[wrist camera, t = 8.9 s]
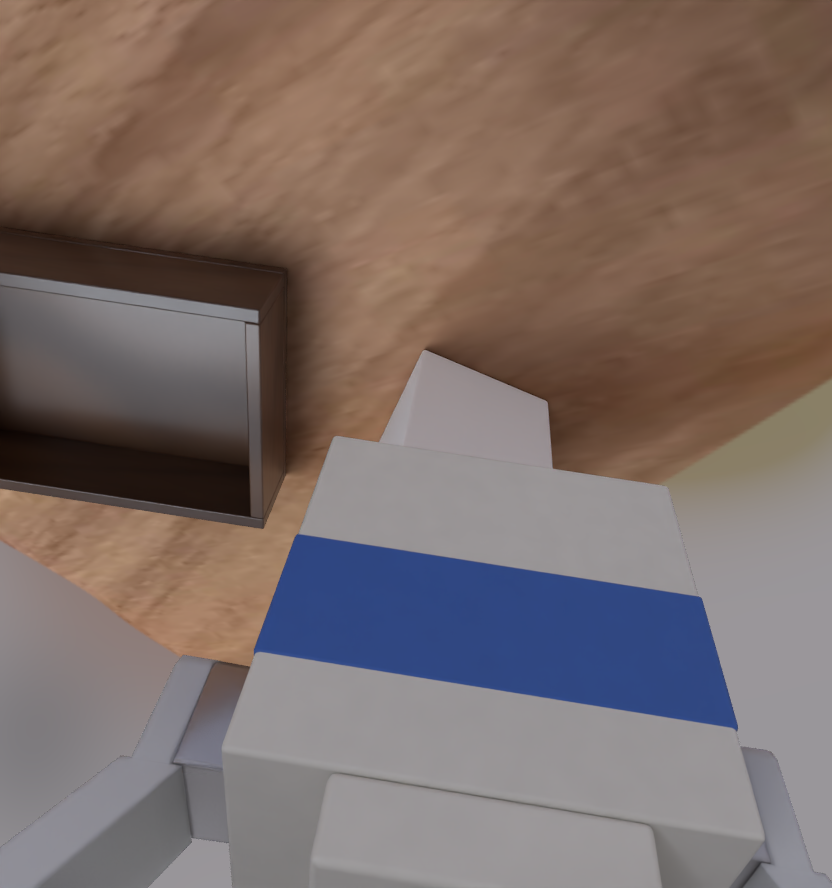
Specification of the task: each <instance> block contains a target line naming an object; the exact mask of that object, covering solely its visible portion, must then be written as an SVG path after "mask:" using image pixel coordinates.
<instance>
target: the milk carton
mask: <svg viewBox="0 0 832 888" xmlns="http://www.w3.org/2000/svg"><path fill="white" fill-rule="evenodd" d="M737 730H738V725H737V721H736V718H735V714H734V711H733V707H732V704H731V700H730V697H729V693H728V689H727V686H726V682H725V679H724V675H723V672H722V668H721V665H720V661H719V657H718V654H717V650H716V647H715V643H714V640H713V637H712V633H711V629H710V626H709V622H708V619H707V615H706V612H705V608H704V605H703V601H702V598H701V597H699V596H698V592H697V589H696V585H695V581H694V578H693V574H692V571H691V567H690V563H689V560H688V556H687V553H686V549H685V546H684V542H683V539H682V535H681V531H680V528H679V524H678V520H677V517H676V513H675V510H674V506H673V502H672V499H671V495H670V492H669V488H668V487H666V486H663V485H656V484H649V483H643V482H636V481H630V480H623V479H617V478H610V477H603V476H597V475H590V474H584V473H577V472H571V471H564V470H558V469H551V468H544V467H538V466H531V465H525V464H518V463H512V462H505V461H498V460H492V459H485V458H479V457H472V456H466V455H459V454H453V453H446V452H439V451H433V450H426V449H420V448H413V447H407V446H400V445H393V444H387V443H380V442H374V441H367V440H361V439H354V438H347V437H341V436H335V437H334V438H333V439H332V442H331V445H330V448H329V450H328V453H327V456H326V459H325V461H324V464H323V467H322V470H321V472H320V475H319V478H318V481H317V484H316V486H315V489H314V492H313V495H312V497H311V500H310V503H309V506H308V508H307V511H306V514H305V517H304V520H303V522H302V525H301V528H300V531H299V533H298V534H297V535H296V537H295V539H294V541H293V544H292V547H291V550H290V552H289V555H288V558H287V560H286V563H285V566H284V569H283V571H282V574H281V577H280V580H279V582H278V585H277V588H276V591H275V593H274V596H273V599H272V602H271V604H270V607H269V610H268V613H267V615H266V618H265V621H264V624H263V626H262V629H261V632H260V635H259V637H258V640H257V643H256V645H255V648H254V658H253V661H252V663H251V666H250V669H249V672H248V675H247V677H246V680H245V683H244V686H243V688H242V691H241V694H240V697H239V699H238V702H237V705H236V708H235V711H234V713H233V716H232V719H231V722H230V724H229V727H228V730H227V733H226V735H225V738H224V741H223V744H222V747H221V749H222V762H223V775H224V788H225V801H226V813H227V826H228V839H229V851H230V864H231V875H232V876H231V877H232V888H730V886H731V885H732V884H733V882H734V881H735V880H736V878H737V877H738V876H739V874H740V873H741V872H742V870H743V869H744V868H745V866H746V865H747V864H748V862H749V861H750V860H751V859H752V857H753V856H754V855H755V853H756V852H757V851H758V849H759V848H760V847H761V845H762V844H763V843H764V841H765V833H764V829H763V825H762V822H761V818H760V815H759V811H758V807H757V804H756V800H755V797H754V793H753V790H752V786H751V782H750V779H749V775H748V772H747V768H746V764H745V761H744V757H743V754H742V750H741V746H740V743H739V739H738V736H737Z"/></svg>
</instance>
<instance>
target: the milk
mask: <svg viewBox="0 0 832 888" xmlns="http://www.w3.org/2000/svg"><path fill="white" fill-rule="evenodd" d="M379 442H380V443H387V444H393V445H400V446H407V447H413V448H420V449H426V450H433V451H439V452H446V453H453V454H459V455H466V456H472V457H479V458H485V459H492V460H498V461H505V462H512V463H518V464H525V465H531V466H538V467H544V468H551V469H553V466H552V452H551V439H550V425H549V411H548V403H547V401H545V400H543V399H541V398H538V397H536V396H534V395H531V394H529V393H526V392H524V391H522V390H519V389H517V388H515V387H512V386H510V385H507V384H505V383H503V382H500V381H498V380H496V379H493V378H491V377H489V376H486V375H484V374H481V373H479V372H477V371H474V370H472V369H470V368H467V367H465V366H462V365H460V364H458V363H455V362H453V361H451V360H448V359H446V358H444V357H441V356H439V355H436V354H434V353H432V352H429V351H427V350H423V351H422V353H421V355H420V357H419V359H418V362H417V364H416V366H415V368H414V370H413V372H412V374H411V376H410V378H409V380H408V383H407V385H406V387H405V389H404V391H403V393H402V395H401V397H400V399H399V401H398V403H397V406H396V408H395V410H394V412H393V414H392V416H391V418H390V420H389V422H388V424H387V426H386V429H385V431H384V433H383V435H382V437H381V439H380V441H379Z"/></svg>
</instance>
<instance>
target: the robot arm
mask: <svg viewBox="0 0 832 888" xmlns="http://www.w3.org/2000/svg"><path fill="white" fill-rule="evenodd" d="M249 669H250V667H249V666H244V665H238V664H233V663H227V662H221V661H218V660H212V659H206V658H200V657H193V656H187V655H183V656H182V657H181V658H180V659H179V660H178V662H177V663H176V664H175V665H174V668H173V670H172V672H171V674H170V676H169V678H168V680H167V683H166V685H165V687H164V689H163V691H162V693H161V695H160V697H159V699H158V702H157V704H156V706H155V708H154V710H153V712H152V714H151V716H150V719H149V721H148V723H147V725H146V727H145V729H144V731H143V733H142V736H141V738H140V740H139V742H138V744H137V746H136V748H135V750H134V753H133V755H132V757H129V756H120V757H119V758H117V759H116V760H115V761H113V762H112V763H111V764H109V765H108V766H107V767H105V768H104V769H103V770H101V771H100V772H99V773H97V774H96V775H95V776H93V777H92V778H91V779H89V780H88V781H87V782H85V783H84V784H83V785H82V786H80V787H79V788H78V789H76V790H75V791H74V792H72V793H71V794H70V795H69V796H67V797H66V798H64V799H63V800H62V801H60V802H59V803H58V804H56V805H55V806H54V807H52V808H51V809H50V810H49V811H47V812H46V813H44V814H43V815H42V816H41V817H39V818H38V819H37V820H35V821H34V822H33V823H32V824H30V825H29V826H27V827H26V828H25V829H23V830H22V831H21V832H19V833H18V834H17V835H15V836H14V837H13V838H11V839H10V840H9V841H8V842H6V843H5V844H3V845H2V846H1V847H0V888H148V887H149V886H150V885H151V884H152V883H153V882H154V881H155V880H156V879H157V878H158V877H159V876H160V875H161V874H162V873H163V871H164V870H165V869H166V868H167V867H168V866H169V865H170V864H171V863H172V862H173V861H174V860H175V859H176V858H177V857H178V856H179V855H180V854H181V853H182V852H183V851H184V850H185V849H186V848H187V847H188V846H189V845H190V844H191V842H192V839H191V838H196V839H203V840H210V841H217V842H224V843H229V839H228V826H227V813H226V801H225V788H224V775H223V762H222V749H221V747H222V744H223V741H224V738H225V735H226V733H227V730H228V727H229V724H230V722H231V719H232V716H233V713H234V711H235V708H236V705H237V702H238V699H239V697H240V694H241V691H242V688H243V686H244V683H245V680H246V677H247V675H248V672H249ZM741 750H742V754H743V757H744V761H745V764H746V768H747V772H748V775H749V779H750V782H751V786H752V790H753V793H754V797H755V800H756V804H757V807H758V811H759V815H760V818H761V822H762V825H763V829H764V833H765V841H764V843H763V844H762V845H761V847H760V848H759V849H758V851H757V852H756V853H755V855H754V856H753V857H752V859H751V860H750V861H749V862H748V864H747V865H746V866H745V868H744V869H743V870H742V872H741V873H740V874H739V876H738V877H737V878H736V880H735V881H734V882H733V884H732V885H731V886H730V888H832V882H831V880H830V879H829V878H828V877H827V876H826V874H823V873H818V872H814V871H813V868H812V865H811V862H810V858H809V856H808V852H807V849H806V846H805V843H804V840H803V837H802V834H801V831H800V828H799V825H798V822H797V819H796V816H795V813H794V809H793V806H792V803H791V801H790V797H789V794H788V791H787V788H786V785H785V782H784V779H783V776H782V773H781V770H780V767H779V764H778V760H777V759H776V758H775V756H774V755H773V753H772V752H770V751H767V750H763V749H756V748H749V747H741Z"/></svg>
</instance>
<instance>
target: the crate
mask: <svg viewBox="0 0 832 888" xmlns="http://www.w3.org/2000/svg"><path fill="white" fill-rule="evenodd" d="M286 360H287V269H285V268H278V267H271V266H264V265H258V264H251V263H244V262H237V261H230V260H223V259H216V258H209V257H202V256H196V255H189V254H182V253H175V252H168V251H161V250H154V249H147V248H140V247H134V246H127V245H120V244H113V243H106V242H99V241H92V240H85V239H79V238H72V237H65V236H58V235H51V234H44V233H37V232H30V231H23V230H17V229H10V228H3V227H0V488H1V489H8V490H14V491H20V492H27V493H33V494H40V495H46V496H53V497H59V498H66V499H72V500H79V501H85V502H92V503H98V504H105V505H111V506H118V507H124V508H131V509H137V510H144V511H150V512H157V513H163V514H170V515H176V516H183V517H189V518H196V519H202V520H209V521H215V522H222V523H228V524H235V525H241V526H248V527H254V528H261V529H263V528H264V527H265V524H266V522H267V519H268V517H269V514H270V512H271V510H272V507H273V505H274V502H275V500H276V497H277V495H278V493H279V490H280V488H281V485H282V483H283V480H284V478H285V476H286Z"/></svg>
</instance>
